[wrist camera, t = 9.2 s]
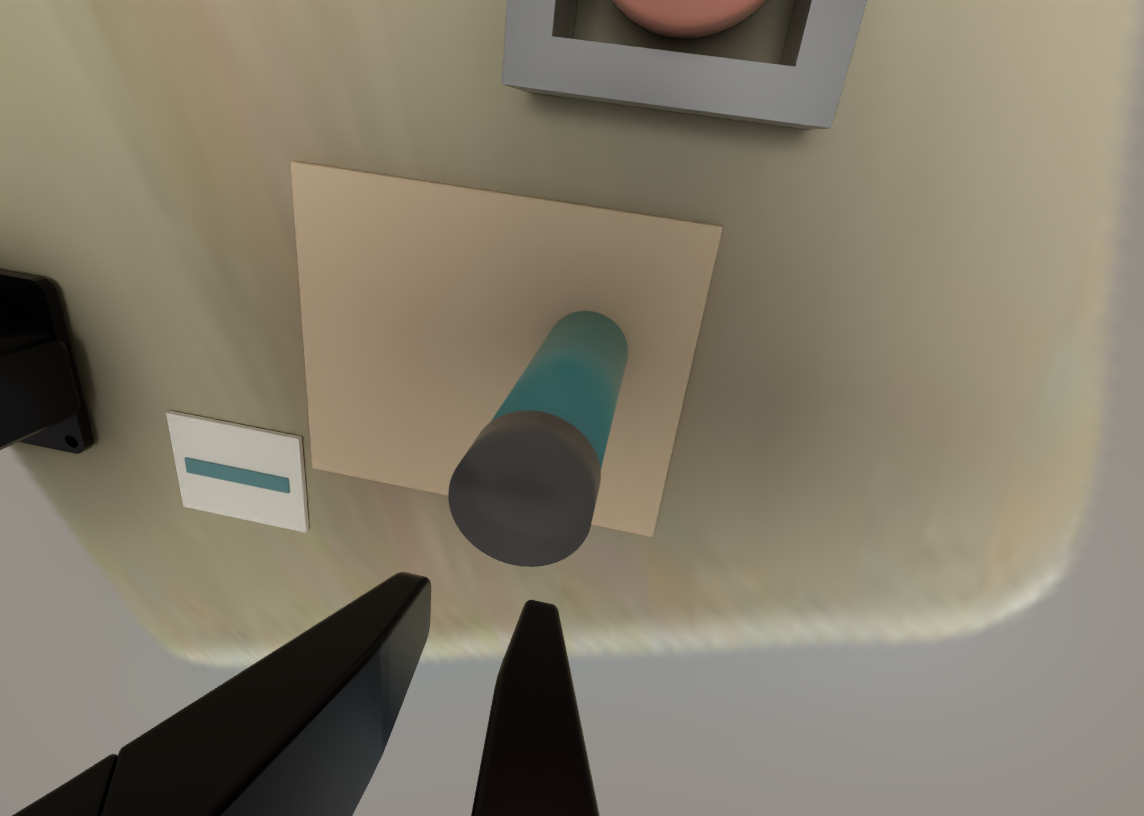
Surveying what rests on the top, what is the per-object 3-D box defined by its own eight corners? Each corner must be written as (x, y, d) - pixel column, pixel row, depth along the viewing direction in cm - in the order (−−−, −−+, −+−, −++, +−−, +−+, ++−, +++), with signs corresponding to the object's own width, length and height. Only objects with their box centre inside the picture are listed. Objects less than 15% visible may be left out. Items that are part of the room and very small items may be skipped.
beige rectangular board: (317, 463, 21) (312, 468, 21) (296, 161, 17) (290, 161, 17) (653, 532, 20) (652, 537, 20) (722, 225, 16) (722, 227, 16)
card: (187, 503, 23) (181, 507, 23) (170, 410, 21) (163, 413, 21) (309, 529, 22) (304, 534, 22) (302, 436, 21) (296, 440, 21)
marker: (541, 382, 18) (445, 550, 11) (550, 302, 17) (451, 428, 10) (622, 397, 18) (581, 579, 11) (636, 317, 17) (602, 457, 9)
